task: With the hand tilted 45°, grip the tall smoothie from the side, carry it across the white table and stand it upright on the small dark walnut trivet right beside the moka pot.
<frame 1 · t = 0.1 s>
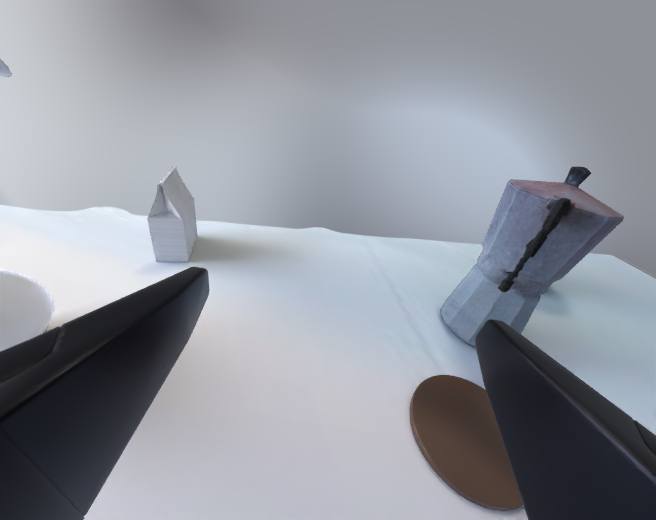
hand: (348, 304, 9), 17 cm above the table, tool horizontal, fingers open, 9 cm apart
trivet: (468, 432, 23), on the table
white carton: (178, 248, 38), on the table
moka pot: (474, 329, 34), on the table
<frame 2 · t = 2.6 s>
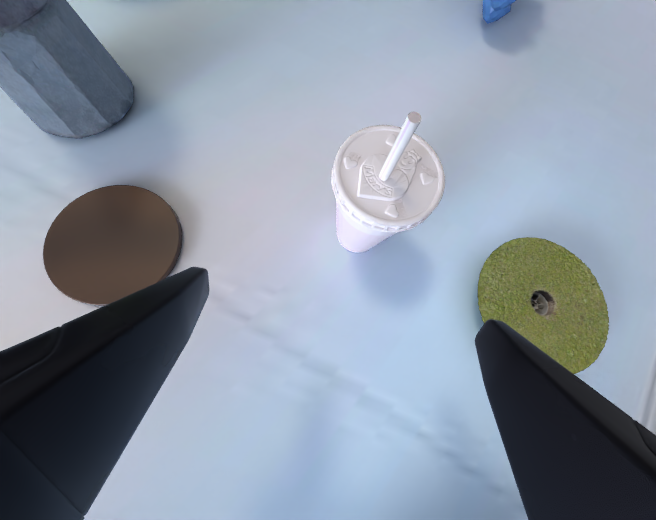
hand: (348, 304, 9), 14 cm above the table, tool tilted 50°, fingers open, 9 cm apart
trivet: (117, 243, 22), on the table
green grainy disc: (524, 305, 24), on the table
moka pot: (89, 105, 25), on the table
smoothie: (356, 233, 24), on the table
grapes: (484, 7, 33), on the table
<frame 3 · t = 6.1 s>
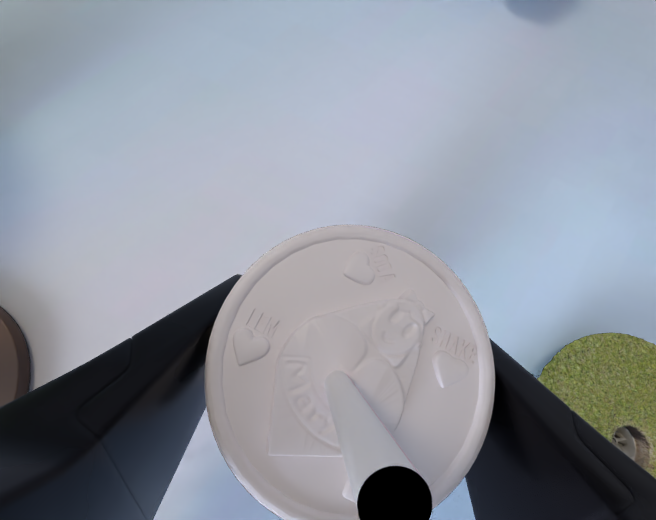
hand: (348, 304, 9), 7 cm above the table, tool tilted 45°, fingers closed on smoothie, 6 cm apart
green grainy disc: (591, 433, 16), on the table
smoothie: (324, 334, 15), on the table, touching gripper
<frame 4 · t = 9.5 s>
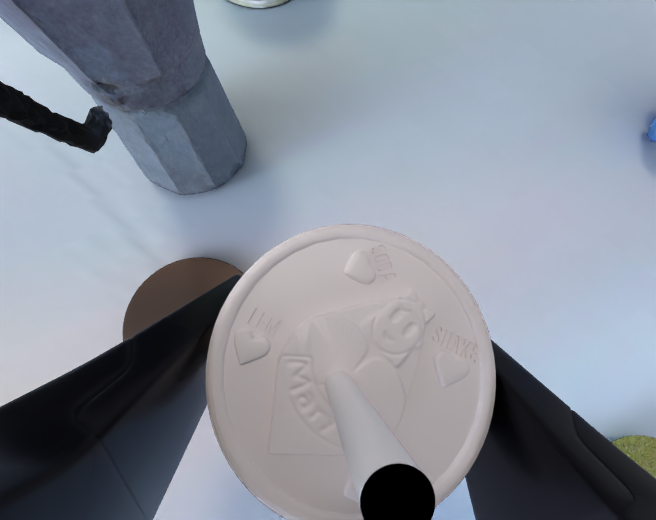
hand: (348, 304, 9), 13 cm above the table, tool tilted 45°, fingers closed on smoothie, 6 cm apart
trivet: (197, 323, 21), on the table
green grainy disc: (619, 505, 21), on the table
moka pot: (197, 154, 24), on the table
smoothie: (324, 334, 15), point 6 cm above the table, touching gripper
grapes: (649, 117, 28), on the table
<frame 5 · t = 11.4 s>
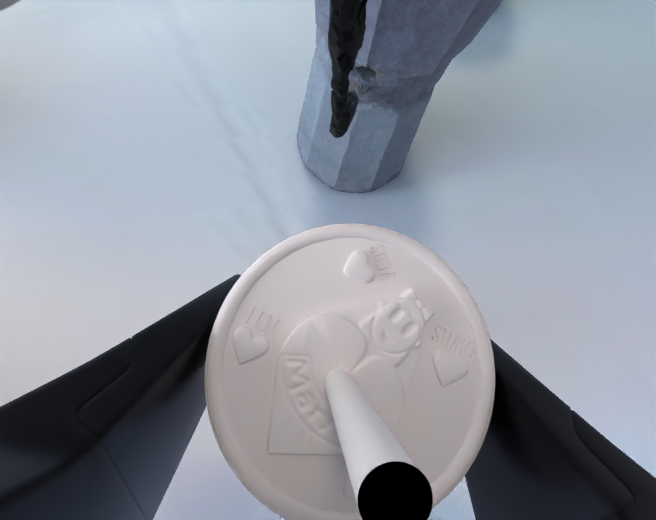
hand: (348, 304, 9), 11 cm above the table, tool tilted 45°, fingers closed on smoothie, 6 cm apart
moka pot: (352, 151, 23), on the table
smoothie: (324, 334, 15), point 4 cm above the table, touching gripper
when the fingers open (8 cm above the table, at t = 13.0 s): smoothie stays where it is, resting on trivet.
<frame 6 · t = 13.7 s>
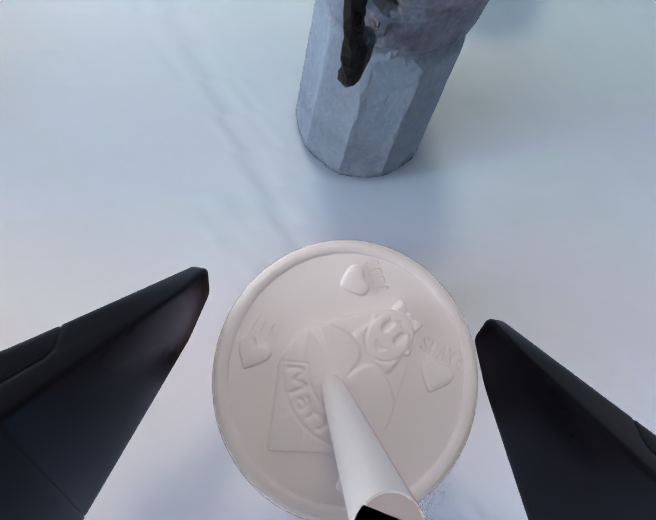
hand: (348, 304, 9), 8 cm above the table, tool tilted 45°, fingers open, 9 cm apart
moka pot: (359, 131, 20), on the table
smoothie: (323, 337, 16), resting on trivet
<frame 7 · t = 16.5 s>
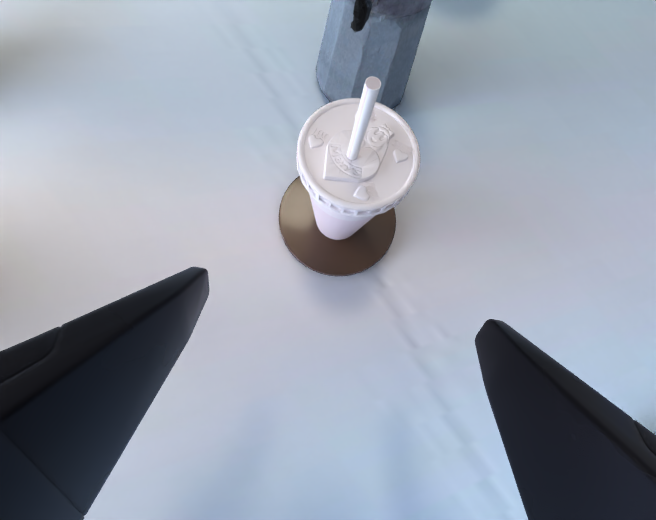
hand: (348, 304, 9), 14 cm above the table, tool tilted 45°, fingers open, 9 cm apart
trivet: (337, 219, 24), on the table
moka pot: (361, 85, 27), on the table
smoothie: (337, 219, 23), resting on trivet
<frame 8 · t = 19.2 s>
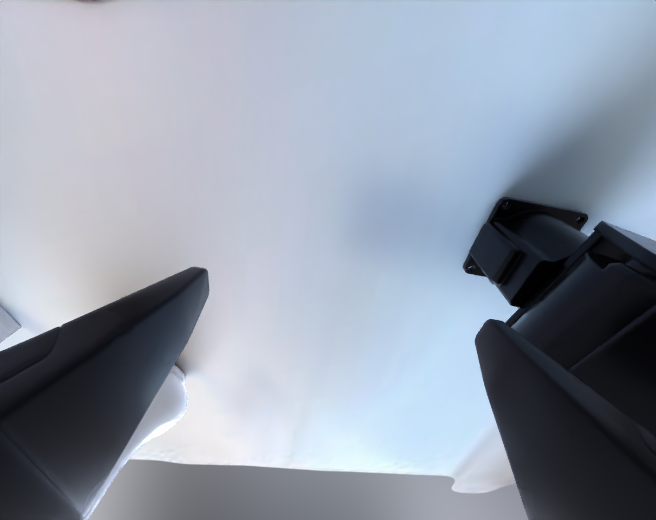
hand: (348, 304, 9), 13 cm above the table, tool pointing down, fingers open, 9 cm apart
flower vase: (166, 375, 34), on the table
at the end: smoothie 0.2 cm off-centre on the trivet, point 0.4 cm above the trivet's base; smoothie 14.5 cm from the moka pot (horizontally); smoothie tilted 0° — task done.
